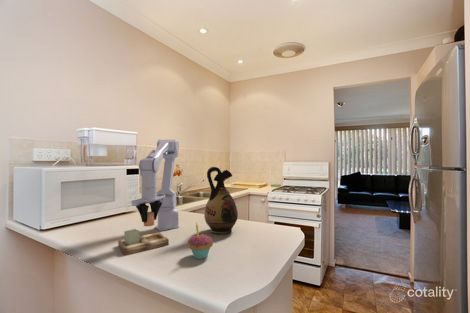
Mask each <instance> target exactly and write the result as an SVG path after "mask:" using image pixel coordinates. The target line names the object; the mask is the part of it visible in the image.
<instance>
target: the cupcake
mask: <svg viewBox="0 0 470 313" xmlns="http://www.w3.org/2000/svg"><path fill="white" fill-rule="evenodd" d="M195 230H196V235H194V236H192V237H190V239H188V242H187V246H188V248H189V249H190V250H191V252H192V255H193V258H195V259H198V260H202V259H206V258H207V257H208V256H209V252H210V249H211V248H212V247H213V246H214V245H213V244H214V242H213V238H212V237H211V236H209V235H207V234H205V233H204V234H200V233H199V224H198V222H195Z"/></svg>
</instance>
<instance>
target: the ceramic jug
mask: <svg viewBox="0 0 470 313" xmlns="http://www.w3.org/2000/svg"><path fill="white" fill-rule="evenodd" d="M213 172H217V174H216V175H215V177H214V179H213V178H212V173H213ZM231 177H233V174H232V173H231V172H230V171H229V170H227V169H224V170H221V169H220V168H219V167H216V166H211V167H210V168H208V170H207V172H206V178H207V181H208V183H209V184H208V185H209V187H210V196H209V198H208V200H207V202H206V204H205V208H204V214H203V215H204V216H203V217H204V221H205V223H206V225H207V226H208V228H210V231H211V232H210V233H214V234H219V235H222V234H223V235H224V234H226V235H227V234H231V232H232V229H233V227H234V226H235V224H237V221H238V215H239V212H238V207H237V203H236V202H235V200H234V198H233V196H232V195H231V194H230V192H229V191H228V189H227V188H226V186H225V181H226V180H227V179H230V178H231ZM213 181H215V182H216V185H214V182H213Z"/></svg>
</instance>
